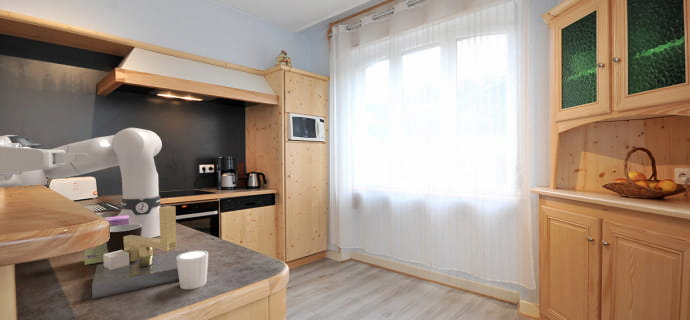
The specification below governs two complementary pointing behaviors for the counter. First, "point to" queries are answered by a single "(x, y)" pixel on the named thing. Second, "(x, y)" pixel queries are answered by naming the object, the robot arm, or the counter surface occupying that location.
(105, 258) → the cover
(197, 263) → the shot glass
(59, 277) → the counter surface
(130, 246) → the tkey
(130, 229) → the coffee mug
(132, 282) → the dark grey base plate
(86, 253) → the box
